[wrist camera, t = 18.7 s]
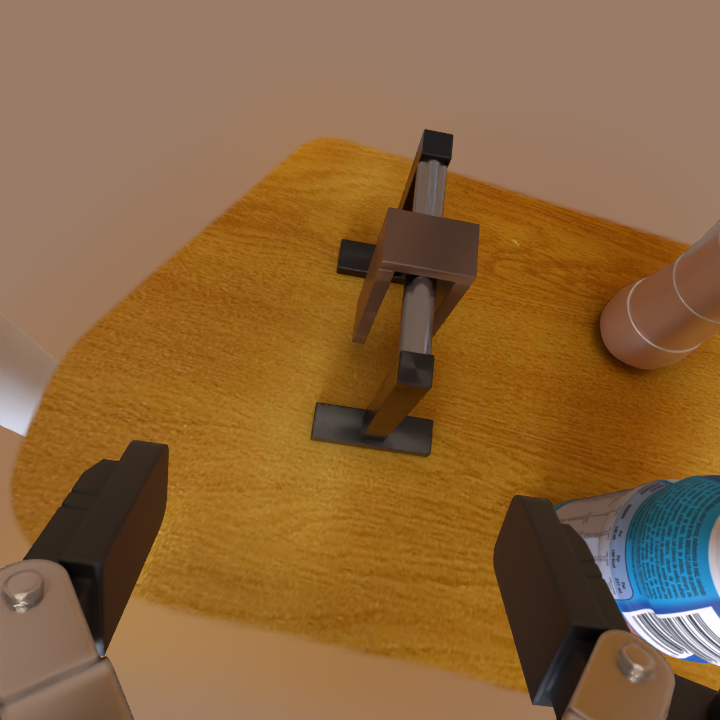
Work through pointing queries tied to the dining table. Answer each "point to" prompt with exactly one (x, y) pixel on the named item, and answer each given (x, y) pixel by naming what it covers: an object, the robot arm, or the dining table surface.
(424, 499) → the dining table surface
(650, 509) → the beverage bottle
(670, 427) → the dining table surface
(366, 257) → the rack
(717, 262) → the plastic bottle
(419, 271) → the two-legged arch bridge
